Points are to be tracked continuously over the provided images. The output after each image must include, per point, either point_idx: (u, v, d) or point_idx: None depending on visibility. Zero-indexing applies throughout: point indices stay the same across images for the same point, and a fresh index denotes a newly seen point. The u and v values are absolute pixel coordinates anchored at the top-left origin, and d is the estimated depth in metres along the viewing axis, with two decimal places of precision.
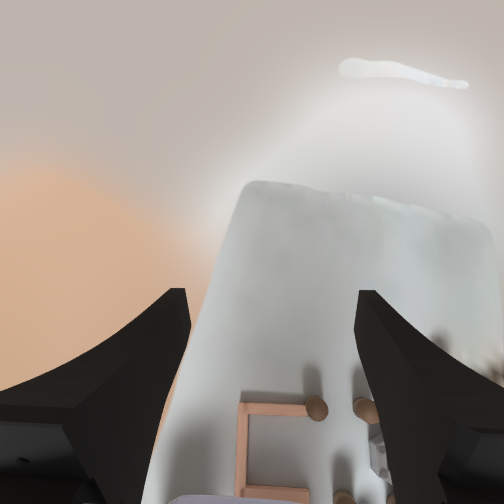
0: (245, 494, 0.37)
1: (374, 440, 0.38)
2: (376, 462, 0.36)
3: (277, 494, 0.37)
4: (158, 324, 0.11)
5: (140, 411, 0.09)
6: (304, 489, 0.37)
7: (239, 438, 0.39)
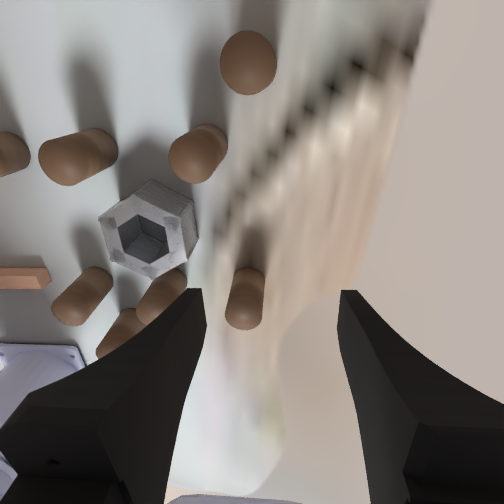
0: None
1: (119, 203, 0.21)
2: None
3: None
4: (178, 324, 0.11)
5: (163, 412, 0.09)
6: (37, 270, 0.25)
7: None
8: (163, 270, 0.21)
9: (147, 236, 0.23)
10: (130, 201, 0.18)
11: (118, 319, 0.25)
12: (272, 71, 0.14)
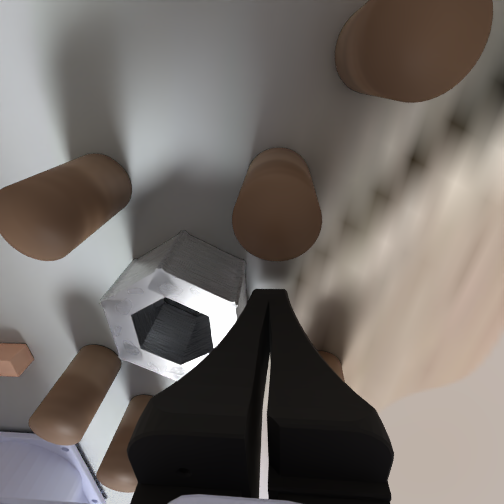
0: None
1: (132, 267, 0.13)
2: None
3: None
4: (262, 326, 0.10)
5: (258, 417, 0.09)
6: (12, 349, 0.17)
7: None
8: None
9: (173, 308, 0.15)
10: (154, 278, 0.11)
11: (128, 415, 0.18)
12: (478, 51, 0.06)
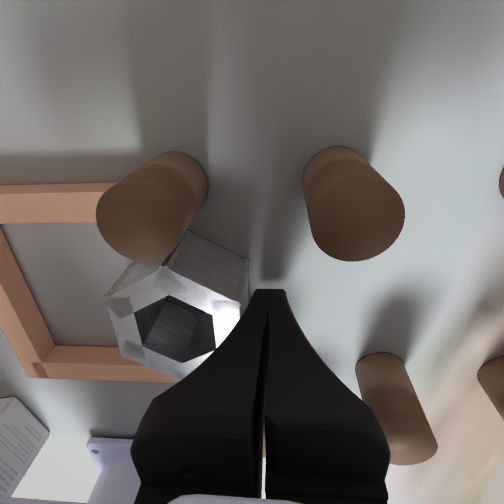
0: (46, 371, 0.17)
1: (136, 265, 0.13)
2: None
3: (111, 369, 0.16)
4: (264, 326, 0.10)
5: (261, 417, 0.09)
6: None
7: None
8: None
9: (174, 307, 0.15)
10: (158, 276, 0.11)
11: None
12: None
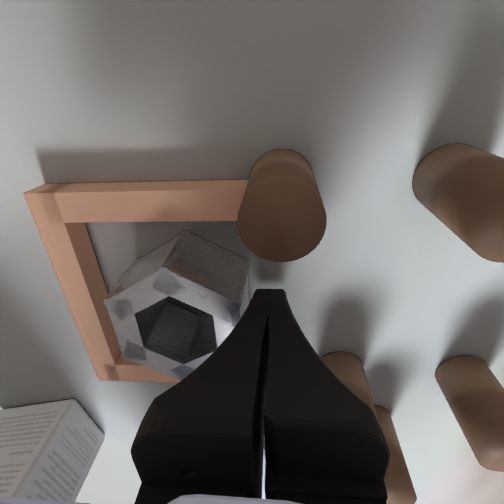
0: (118, 373, 0.16)
1: (136, 266, 0.13)
2: None
3: None
4: (265, 326, 0.10)
5: (261, 417, 0.09)
6: None
7: (65, 281, 0.14)
8: None
9: (175, 308, 0.15)
10: (158, 277, 0.11)
11: None
12: None
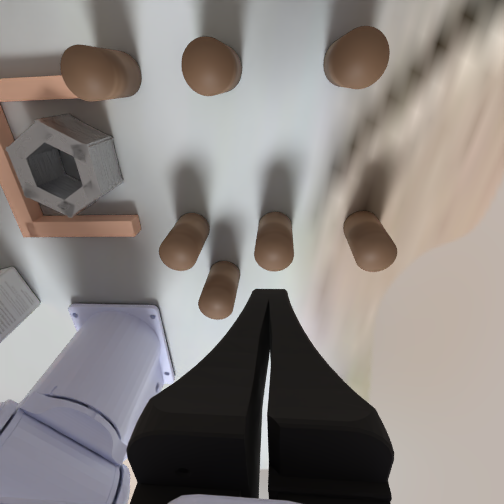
0: (36, 229, 0.23)
1: None
2: None
3: (82, 226, 0.23)
4: (262, 326, 0.10)
5: (258, 417, 0.09)
6: (129, 216, 0.23)
7: None
8: (79, 206, 0.20)
9: (71, 177, 0.22)
10: (35, 127, 0.18)
11: (214, 270, 0.24)
12: None
